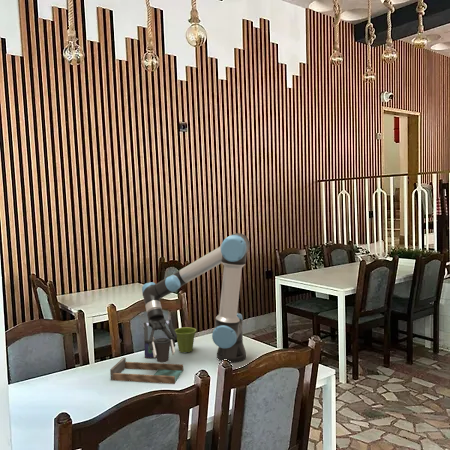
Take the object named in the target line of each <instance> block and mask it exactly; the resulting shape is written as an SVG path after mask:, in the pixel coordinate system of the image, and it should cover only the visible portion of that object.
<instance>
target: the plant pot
mask: <svg viewBox="0 0 450 450" xmlns="http://www.w3.org/2000/svg"><path fill="white" fill-rule="evenodd" d="M174 330H175V332H176V334H177V339H176V343H177V347H178V352H179V351H180V352H179V353H182V352H188V353H191V352H193V348H194V341H195V335H196V332H197V329H196V328H194V327H191V326H190V327H188V326H187V327H185V326H184V327H179V328H175V329H174ZM190 351H191V352H190Z"/></svg>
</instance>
